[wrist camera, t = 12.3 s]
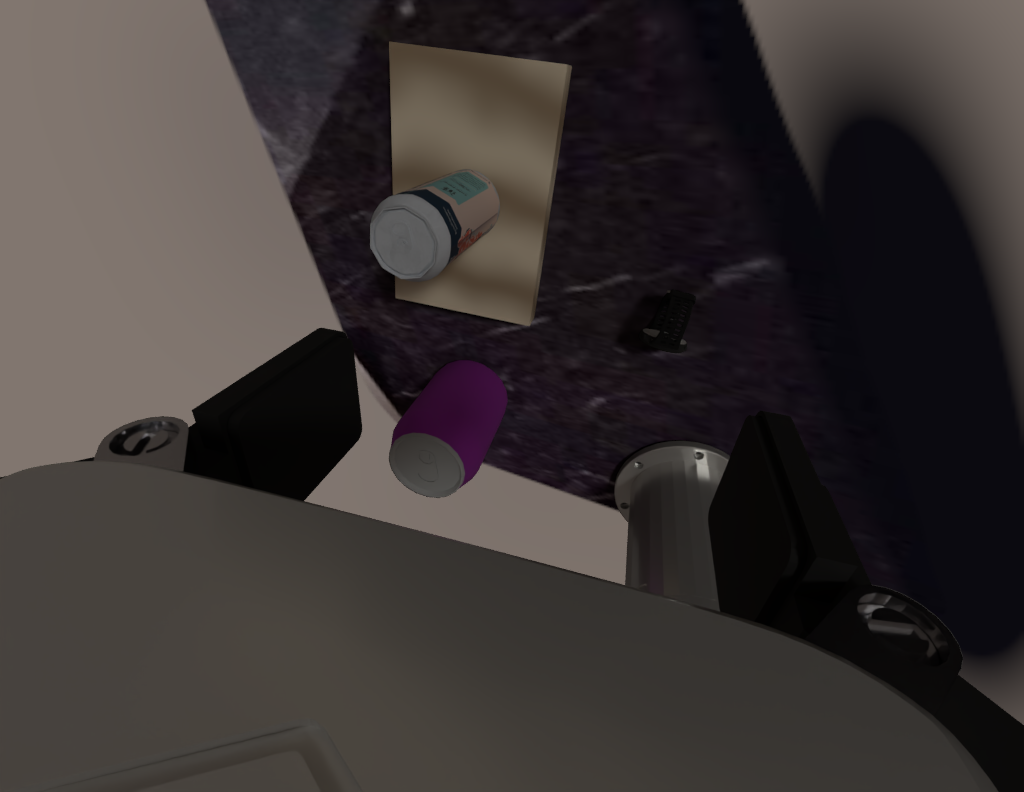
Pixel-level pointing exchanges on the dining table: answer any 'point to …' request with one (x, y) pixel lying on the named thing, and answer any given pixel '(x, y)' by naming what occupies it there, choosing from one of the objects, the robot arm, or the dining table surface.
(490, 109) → the birch board
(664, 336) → the smartwatch
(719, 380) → the dining table surface
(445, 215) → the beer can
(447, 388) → the beverage can
